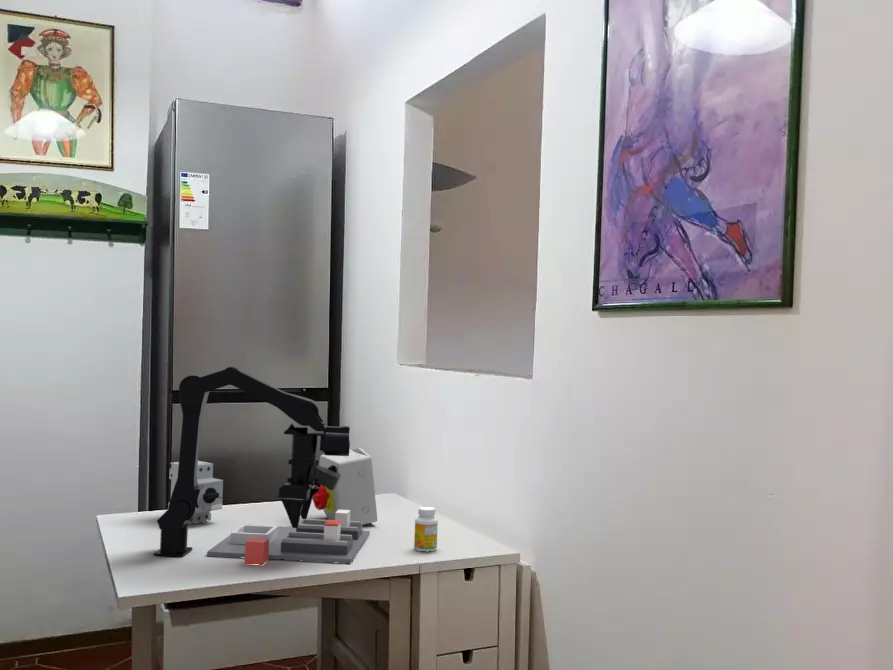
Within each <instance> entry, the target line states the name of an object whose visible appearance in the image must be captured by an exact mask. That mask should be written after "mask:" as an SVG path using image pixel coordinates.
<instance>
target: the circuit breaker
mask: <svg viewBox="0 0 893 670" xmlns="http://www.w3.org/2000/svg"><path fill="white" fill-rule="evenodd" d="M170 465H171V466H170V468H169V472H168V473H169V477H168V479H169V480H170V497H171V496H172V492H173V490H174V487H175V484H176V481H177V477H178V467H179V461H173V462H170ZM213 473H214V463H212V462H207V461H202V460H201V461H200V460H198V465H197V482H198V485H204V490H203V494H202V499H203V503H202V504H201V506H200V507H199V509H198V510H197V511H196V513H195V514H194V515H193V516H192V517H191V518H190V519H189V521H187V524H190V525H192V524H191V523H195V524H197V523H196V522H201V523H203V522H202V521H206V522H208V521H207V520H211V521H212V513H211V512H212V511H217V510H218V511H219V510H223V494H224V493H223V492H224V491H223V490H224V479H220V478H214V474H213ZM170 500H171V498H170ZM170 500H169V502H168V503H167V509H168V508H169V503H170Z"/></svg>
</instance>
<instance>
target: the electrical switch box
mask: <svg viewBox="0 0 893 670" xmlns="http://www.w3.org/2000/svg"><path fill="white" fill-rule="evenodd" d="M318 460H319V466H322V467H326V468H327V469H328V468H329V467H330V466H331V465H335V466H337V467H338V473H340V475H341V477H340V479H339V481H338V484H337V486H336V488H334V490H329V489H327V487H325V486H323V485H322V486H321V487H320V488H321V489H320V490H319V491H318V492H317V493H315V494H314V496H313V499H312V502H313V504H314V507H315V509H316V510H318V511H321V510H323V512H324V514H325V516H326V518H327V519H328V520H335V513H336V512H337V511H338V509H339V510H350V521H356V522H362V525H363V526H364V525H368V524H372V523H376V522H378V511H377V501H376V493H375V490H376V489H375V482H374V481H375V480H374V473H373V472H374V471H373V462H372V456H371V455H370V454H369V453H367V452H366V451H365V450H363V449H362V448H361V447H357V448H349V456H328V455H324V454H321V455H320V456H319V459H318ZM315 487H318V485H315Z"/></svg>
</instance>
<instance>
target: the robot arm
mask: <svg viewBox="0 0 893 670" xmlns="http://www.w3.org/2000/svg"><path fill="white" fill-rule="evenodd" d="M229 385H230V386H233V387H235V388H237V389H240V390H241V391H243V392H244V393H247V394H249V395H250V396H253V397H254V398H257V399H259V400H262V401H264V402H265V403H267V404H268V405H269V404H270V405H272V406H274V407H276V408H277V409H279V410H280V411H281V412H282V413H283V414H285V415H286V416H287V417H288V418H290V419H291V420H292V421H294V422H296V424H298V425H300V426H295V424H294V423H292V422H291V423H290V425H289V426H288V427H287V428H286V429H285V430H284V431H283V434H284V435H288V436H289V435H291V450H290V451H291V452H290V458H289V459H288V465H289V466H290V467H289V468H290V469H289V477H287V479H286V480H287V482H285V483H284V484H283V485H282V486H281V487H279V488H278V498H280V501H281V503H282V505H283V508H284V510H285V511H286V514H287V517H288V519H289V522H290V524H291V527H293V528H297V527H298V524H300V519H301V520H303V519H308V515H309V512H310V509H311V505H312V502H313V496H314V494H315V493H317V492H318V491H319V490H320V489H321V488H320V487H321V486H322V485H323V486H325V487H327V489H329V490H334V488H336V486H337V484H338V481H339V479H340V477H341V475H340V473H338V467H337V466H335V465H331V466H330V467H329V468H328V469H327V468H326V467H322V466H319V460H320V459H319V458H317V454H318V453H317V451H318V437H320V441H319V451H320V452H322V453H324V454H323V455H328V456H349V450H350V449H351V448H350V446H351V445H350V444H351V441H350V431H351V430H350V426H349V425H343V426H335V425H334V426H330V425H326V422H325V420H323V418H322V417H321V416H320V407H319V405H318V403H317V402H316V401H315V400H313V399H311V398H308V397H304V396H301V395H297V394H294V393H289V392H286V391H284V390H281V389H279V388H277V387H276V386H273V385H271V384H270V383H267V382H266V381H264V380H261V379H259V378H257V377H255V376H253V375H251V374H249V373H247V372H245V371H243V370H241V369H240V368H239V367H237V366H229V367H226V368H225V369H222V370H219V371H216V372H213V373H210V374H207V375H203V374H199V373H197V374H195V373H194V374H191V375H187V376H185V377H184V378H183V379H182V380H181V381H180V383H179V385H178V394H179V402H180V403H179V404H180V409H181V412H182V421H181V435H180V444H179V459H178V462H179V467H178V477H177V481H176V484H175V487H174V490H173V492H172V496H171V495H170V499H171V500H169V502H170V503H169V508H168V507H167V510H166V511H164V513H163V514H162V515H161V516H160V517H158V519H157V525H158V527H159V529H160V539H159V540H160V541H159V543H160V544H159V549H158V550H157V551H154V552H153V555H154V556H161V557H176V558H177V557H179V558H181V557H184V556H186V555H187V554H188V553H190V552H191V551H192V550H193V547H191V546H189V547H188V533H189V525H188V524H187V521H189V519H190V518H191V517H192V516H193V515H194V514H195V513H196V511H197V510H198V509H199V507H200V506H201V504H202V503H203V499H202V494H203V490H204V485H198V482H197V465H198V461H199V452H200V450H199V449H200V441H201V428H202V420H203V419H202V416H203V413H204V410H205V407H206V405H207V402H208V398H209V396H210V395H209V394H210V392H211V391H214V390H217V389H220V388H224V387H227V386H229ZM309 427H310V428H311V429H312V430H314V431H309ZM315 485H318V487H315Z"/></svg>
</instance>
